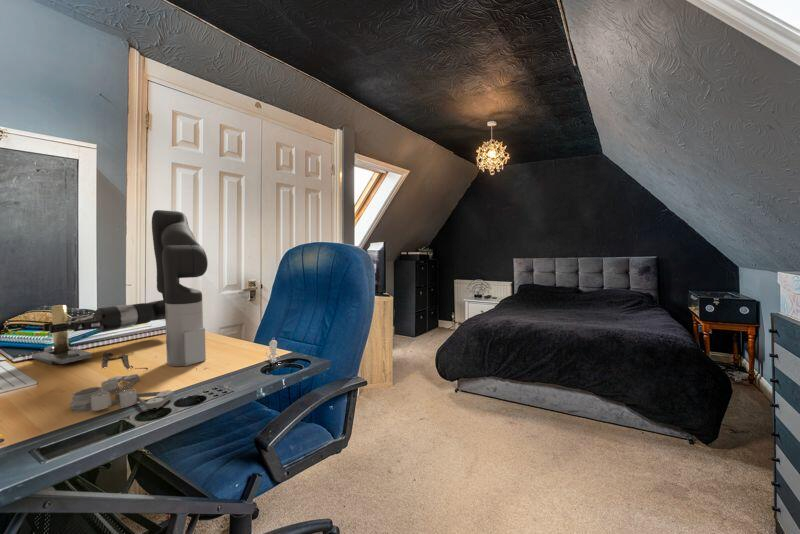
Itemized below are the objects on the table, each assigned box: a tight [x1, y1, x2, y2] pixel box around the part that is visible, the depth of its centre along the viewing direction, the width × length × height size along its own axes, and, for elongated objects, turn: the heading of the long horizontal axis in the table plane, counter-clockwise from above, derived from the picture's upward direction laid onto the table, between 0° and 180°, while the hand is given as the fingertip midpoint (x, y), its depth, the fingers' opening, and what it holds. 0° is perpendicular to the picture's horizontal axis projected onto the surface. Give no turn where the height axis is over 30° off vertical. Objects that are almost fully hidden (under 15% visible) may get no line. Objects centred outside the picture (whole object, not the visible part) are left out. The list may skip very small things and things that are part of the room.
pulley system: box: [69, 373, 174, 413], centre depth 81 cm, size 27×5×15 cm
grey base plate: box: [31, 345, 93, 366], centre depth 108 cm, size 19×7×4 cm, turn 62°
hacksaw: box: [101, 352, 149, 374], centre depth 105 cm, size 24×10×2 cm, turn 37°
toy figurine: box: [265, 337, 281, 366], centre depth 107 cm, size 5×8×7 cm, turn 42°
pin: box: [50, 304, 70, 355], centre depth 108 cm, size 3×3×14 cm
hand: (47, 328), depth 105 cm, fingers closed on pin, 3 cm apart
